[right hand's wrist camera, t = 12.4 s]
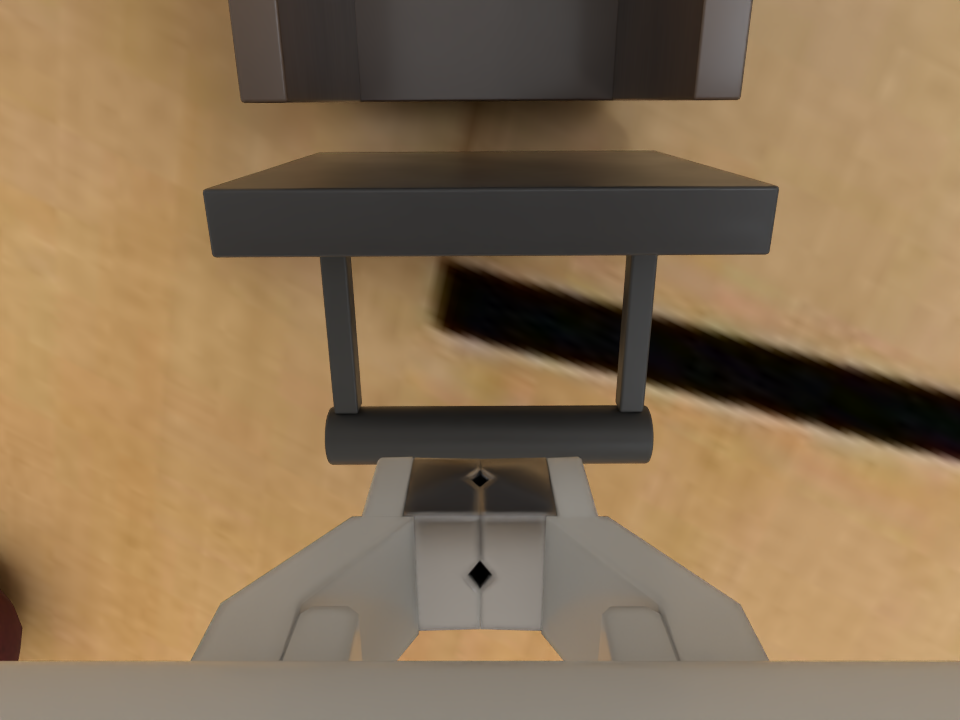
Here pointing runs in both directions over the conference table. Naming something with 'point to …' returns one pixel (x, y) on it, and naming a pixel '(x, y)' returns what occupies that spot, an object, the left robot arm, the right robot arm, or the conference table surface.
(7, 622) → the potato
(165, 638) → the conference table surface
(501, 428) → the drawer
